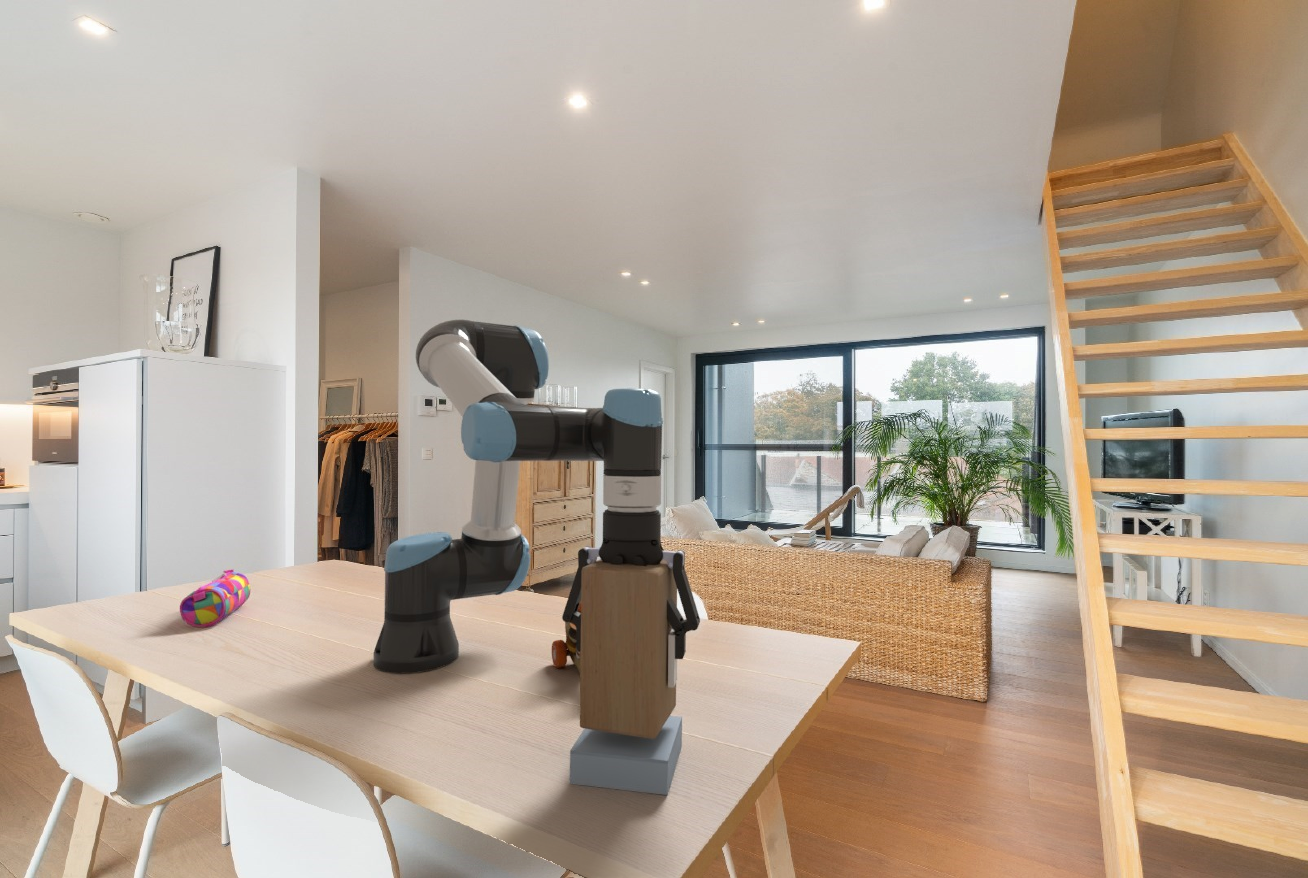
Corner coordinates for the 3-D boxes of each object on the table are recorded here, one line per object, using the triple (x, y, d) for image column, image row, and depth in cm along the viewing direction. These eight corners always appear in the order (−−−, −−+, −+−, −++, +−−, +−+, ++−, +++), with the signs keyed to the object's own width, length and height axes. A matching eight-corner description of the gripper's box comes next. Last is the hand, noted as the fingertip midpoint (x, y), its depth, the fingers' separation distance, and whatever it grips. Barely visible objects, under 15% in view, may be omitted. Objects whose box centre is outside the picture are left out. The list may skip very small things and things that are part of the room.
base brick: (569, 783, 74) (570, 750, 74) (597, 737, 86) (597, 708, 86) (667, 795, 72) (667, 760, 72) (681, 746, 84) (682, 716, 84)
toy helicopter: (590, 655, 120) (591, 585, 120) (630, 695, 101) (631, 611, 101) (549, 661, 116) (550, 588, 116) (582, 703, 97) (583, 617, 97)
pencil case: (207, 606, 152) (208, 570, 152) (251, 603, 156) (252, 568, 156) (176, 631, 132) (177, 590, 132) (228, 627, 136) (229, 586, 136)
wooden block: (607, 697, 85) (608, 553, 85) (676, 707, 82) (678, 558, 83) (578, 729, 76) (580, 566, 76) (655, 741, 73) (657, 572, 73)
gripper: (537, 508, 78) (535, 683, 78) (718, 514, 74) (716, 699, 73) (557, 503, 85) (555, 663, 85) (722, 508, 81) (721, 676, 81)
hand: (630, 679), depth 79 cm, fingers closed on wooden block, 10 cm apart
